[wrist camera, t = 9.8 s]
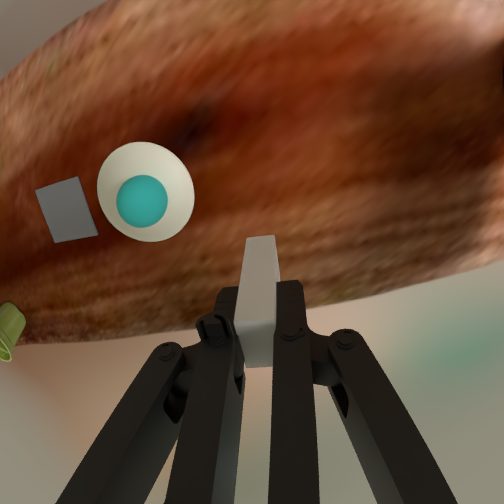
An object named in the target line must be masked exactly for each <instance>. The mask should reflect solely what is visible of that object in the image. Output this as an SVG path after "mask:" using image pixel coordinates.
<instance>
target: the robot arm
mask: <svg viewBox="0 0 504 504" xmlns="http://www.w3.org/2000/svg"><path fill="white" fill-rule="evenodd" d="M503 79H504V73H503ZM196 328H197V331H198V333H199V336H200V339H201V341H200V342H199V343H197V344H195V345H192V346H188V347H184V348H182V347H181V346H180V345H179V344H177V343H175V342H166V343H163V344H161V345H159V346H157V347H156V348H155V349H154V350H153V352H152V353H151V355H150V356H149V358H148V360H147V361H146V362H145V364H144V365H143V367H142V368H141V370H140V371H139V373H138V374H137V376H136V377H135V379H134V380H133V382H132V384H131V385H130V386H129V388H128V389H127V391H126V393H125V394H124V396H123V397H122V399H121V400H120V402H119V403H118V405H117V407H116V408H115V409H114V411H113V413H112V414H111V416H110V417H109V419H108V420H107V422H106V423H105V425H104V427H103V428H102V430H101V431H100V433H99V434H98V436H97V437H96V439H95V441H94V442H93V444H92V445H91V447H90V449H89V450H88V452H87V453H86V455H85V456H84V458H83V460H82V461H81V463H80V465H79V466H78V468H77V469H76V471H75V473H74V474H73V476H72V478H71V479H70V481H69V482H68V484H67V486H66V487H65V489H64V490H63V492H62V494H61V495H60V497H59V499H58V500H57V502H56V503H55V504H144V503H145V501H146V499H147V497H148V495H149V493H150V491H151V489H152V487H153V485H154V483H155V481H156V479H157V478H158V476H159V474H160V472H161V470H162V468H163V466H164V464H165V462H166V460H167V458H168V456H169V454H170V452H171V450H172V448H173V446H174V444H175V442H176V440H177V438H178V442H177V446H176V450H175V455H174V460H173V465H172V469H171V474H170V479H169V484H168V489H167V494H166V499H165V502H164V504H234V496H235V485H236V474H237V464H238V453H239V443H240V432H241V421H242V411H243V400H244V389H245V373H244V362H245V365H246V368H254V367H271V366H273V380H272V384H273V385H272V415H271V445H270V446H271V447H270V468H269V491H268V504H320V500H319V499H320V497H319V471H318V450H317V433H316V417H315V403H314V389H313V384H317V385H323V386H328V389H329V392H330V394H331V396H332V399H333V401H334V403H335V405H336V408H337V410H338V412H339V415H340V417H341V419H342V421H343V424H344V426H345V428H346V431H347V433H348V435H349V438H350V440H351V442H352V445H353V447H354V449H355V452H356V454H357V456H358V458H359V461H360V463H361V466H362V468H363V470H364V473H365V475H366V478H367V480H368V482H369V485H370V487H371V489H372V492H373V494H374V497H375V499H376V501H377V504H458V503H457V501H456V499H455V497H454V495H453V493H452V492H451V490H450V488H449V486H448V484H447V482H446V480H445V478H444V476H443V474H442V472H441V471H440V469H439V467H438V465H437V463H436V461H435V459H434V458H433V456H432V454H431V452H430V450H429V448H428V447H427V445H426V443H425V441H424V439H423V438H422V436H421V434H420V433H419V431H418V429H417V427H416V425H415V424H414V422H413V420H412V418H411V417H410V415H409V413H408V411H407V410H406V408H405V406H404V404H403V403H402V401H401V399H400V398H399V396H398V394H397V393H396V391H395V389H394V388H393V386H392V384H391V383H390V381H389V379H388V378H387V376H386V374H385V373H384V371H383V370H382V368H381V366H380V365H379V363H378V361H377V360H376V358H375V356H374V355H373V353H372V351H371V350H370V349H369V347H368V345H367V343H366V342H365V340H364V339H363V337H362V336H361V335H360V334H359V333H358V332H356V331H354V330H352V329H340V330H337V331H335V332H333V333H332V334H331V335H330V336H323V335H319V334H316V333H314V332H313V331H311V330H310V329H309V327H308V325H307V318H306V309H305V301H304V292H303V286H302V284H301V283H300V282H299V281H298V280H290V281H281V282H280V271H279V264H278V257H277V250H276V242H275V235H267V236H258V237H249V238H247V239H246V245H245V252H244V258H243V264H242V271H241V277H240V284H239V286H236V287H225V288H222V290H221V291H220V292H219V293H218V295H217V298H216V304H215V307H214V311H213V313H209V314H206V315H204V316H202V317H201V318H200V319H199V320H198V321H197V323H196ZM178 436H179V437H178Z"/></svg>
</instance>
